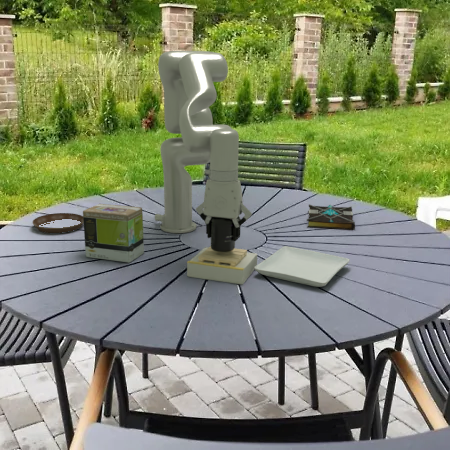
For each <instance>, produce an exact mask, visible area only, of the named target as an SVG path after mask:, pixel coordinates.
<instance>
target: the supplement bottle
mask: <svg viewBox="0 0 450 450" xmlns="http://www.w3.org/2000/svg"><path fill="white" fill-rule="evenodd" d="M233 227H235V225H234V223H233V220H232V219H227V218H218V217H212V219H211V238H210V246H211V249H212V250H214V251H217V252H230V251H232V250H234V248H235V247H236V241H233ZM235 249H236V248H235Z"/></svg>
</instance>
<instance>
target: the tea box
mask: <svg viewBox="0 0 450 450" xmlns="http://www.w3.org/2000/svg"><path fill="white" fill-rule="evenodd" d="M143 214H144V213H143V207H141V206H140V207H139V206H128V205H118V204H107V203H98V204H96V205H93V206H91V207H89V208H87V209H84V210H83V211H82V216H83V222H84V223H83V233H84V248H85V250H84V251H85V257H86V258H93V259H100V260H109V261H116V262H121V263H129V264H130V263H131V262H133V261H135V260H137V258H139V257H141V256H142V255H143V254H144V252H145V245H144V242H145V241H144V217H143Z"/></svg>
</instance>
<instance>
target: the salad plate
mask: <svg viewBox="0 0 450 450" xmlns="http://www.w3.org/2000/svg"><path fill="white" fill-rule="evenodd" d="M349 263H350V258H347V257H343V256H338V255H334V254H328V253H323V252H319V251H314V250H309V249H303V248H298V247H293V246H287V245H285V246H282V247H281V248H280V249H278V250H277V251H275V252H274V253H272V254H271V255H270V256H268V257H267V258H265V259H264V260H262V261H261V262H260V263H257V266H255V267H254V269H255V270H254V271H256V273H259V274H260V275H264V276H266V277H270V278H274V279H279V280H284V281H288V282H292V283H297V284H301V285H306V286H311V287H317V288H319V287H320V288H321V287H325V286H326V285H327V284H328V283H329V282H330V281H331V280H332V278H334V277H335V275H336V274H337V273H338V272H339V271H341V270H342V269H343V268H345V267H346V266H347V265H348V264H349Z"/></svg>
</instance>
